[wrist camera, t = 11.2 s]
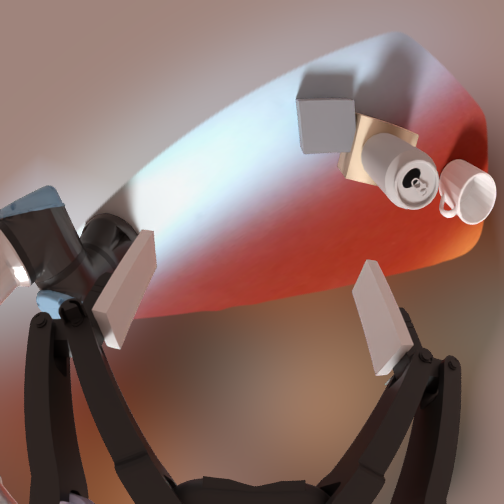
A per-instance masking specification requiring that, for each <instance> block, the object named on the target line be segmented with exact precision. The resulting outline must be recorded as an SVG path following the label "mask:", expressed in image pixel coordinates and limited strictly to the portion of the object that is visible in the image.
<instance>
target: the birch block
mask: <svg viewBox="0 0 504 504" xmlns="http://www.w3.org/2000/svg"><path fill="white" fill-rule="evenodd" d="M355 122H356V131H355V135H354V140H353V144H352V148H351V152H341V153H340V157H339V161H338V165H337V167H338V168H339V169H340V171H341V172H342V174H343V175H344V177H345V178H346V179H351V180H355V181H359V182H364V183H368V184H372V185H376V186H378V185H377V184H376V183H375V182H374V181H373V179H372V178H371V177H370V176H369V175H368V174H367V172H366V171H365V170H364V168H363V165H362V162H361V153H362V150H363V146H364V145H365V143H366V142H367V140H368V139H370V138H371V137H372V136H373V135H376V134H379V133H389V134H392V135H395V136H396V137H398V138H400V139H402V140H404V141H406V142H407V143H409V144H411V145H413V146H414V147H416V144H417V140H418V136H419V135H417V134H415V133H413V132H411V131H409V130H407V129H405V128H402V127H400V126H397V125H394V124H391V123H388V122H385V121H382V120H379V119H376V118H373V117H370V116H367V115H363V114H360V113H357V112H355Z"/></svg>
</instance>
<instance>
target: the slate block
mask: <svg viewBox="0 0 504 504" xmlns="http://www.w3.org/2000/svg"><path fill="white" fill-rule="evenodd" d="M296 106H297V116H298V125H299V136H300V147H301V149H302V151H303V154H315V153H341V152H351V148H352V144H353V140H354V135H355V131H356V122H355V103H354V100H351V99H347V98H311V99H296Z"/></svg>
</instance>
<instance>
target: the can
mask: <svg viewBox="0 0 504 504" xmlns="http://www.w3.org/2000/svg"><path fill="white" fill-rule="evenodd" d="M361 162H362V165H363V168H364V170H365V171H366V172H367V174H368V175H369V176H370V177H371V178H372V179H373V181H374V182H375V183H376V184H377V185H378V186H379V187H380V188H381V190H382V191H383V192H384V193H385V194H386V195H387V197H388V198H389V199H390V200H391V201H392V202H393V203H394V204H395V205H397V206H398V207H401V208H405V209H411V210H413V209H420V208H423V207H425V206H426V205H428V204H429V203H430V202H431V201H432V200H433V198H434V197H435V196H436V193H437V191H438V187H439V176H438V172H437V170H436V166H435V164H434V162H433V160H432V159H431V158H430V157H429V156H428V155H427V154H426V153H424V152H423V151H421V150H419V149H418V148H416V147H414V146H413V145H411V144H409V143H407V142H406V141H404V140H402V139H400V138H398V137H396V136H395V135H392V134H389V133H379V134H376V135H373V136H372V137H371V138H370V139H368V140H367V142H366V143H365V145H364V146H363V150H362V153H361Z"/></svg>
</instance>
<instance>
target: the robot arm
mask: <svg viewBox="0 0 504 504" xmlns="http://www.w3.org/2000/svg"><path fill="white" fill-rule="evenodd" d="M156 268H157V264H156V254H155V242H154V231H149V230H141V232H140V233H139V235H137V234H136V232H135V231H134V230H133V228H132V227H131V226H130V225H129V224H128V223H127V222H125V221H124V220H122V219H121V218H119V217H117V216H114V215H111V214H99V215H97V216H95V217H93V218H92V219H91V220H90V221H89V222H88V223H87V224H86V226H85V227H84V229H83V232H82V235H81V237H80V238H79V236H78V234H77V232H76V230H75V228H74V226H73V224H72V222H71V220H70V217H69V215H68V213H67V211H66V209H65V204H64V203H62V201H61V199H60V197H59V195H58V193H57V191H56V189H55V188H54V187H52V186H45V187H42V188H40V189H38V190H36V191H34V192H32V193H30V194H28V195H26V196H24V197H22V198H20V199H18V200H16V201H14V202H13V203H11V204H9V205H7V206H6V207H4V208H2V209H0V305H1V304H2V303H3V302H4V301H5V299H6V298H7V297H8V296H9V295H10V294H11V293H12V292H13V290H14V289H15V288H16V287H18V286H25V287H29V286H31V285H32V283H34V282H35V283H36V284H37V286H38V287H39V289H40V291H39V292H38V293H37V297H36V302H37V304H38V307H39V308H40V310H41V311H42V312H40V313H38V314H36V315H35V316H34V317H33V318H32V320H31V323H30V329H29V336H28V344H27V354H26V366H25V384H24V385H25V386H24V413H25V431H26V442H27V451H28V458H29V465H30V471H31V476H32V477H31V487H30V502H29V504H95V503H93V502H92V501H91V500H89V499H88V490H87V483H86V479H85V474H84V470H83V466H82V462H81V457H80V453H79V447H78V442H77V435H76V429H75V422H74V414H73V405H72V394H71V380H70V357H72V358H73V361H74V365H75V368H76V371H77V375H78V378H79V381H80V384H81V387H82V389H83V393H84V395H85V398H86V401H87V403H88V406H89V409H90V411H91V414H92V416H93V419H94V421H95V423H96V426H97V428H98V430H99V432H100V434H101V437H102V438H103V441H104V443H105V445H106V447H107V449H108V451H109V453H110V455H111V457H112V459H113V461H114V464H115V470H116V473H117V474H118V477H119V478H120V480H121V482H122V483H123V485H124V487H125V488H126V490H127V491H128V493H129V495H130V496H131V498H132V499H133V501H134V502H135V504H371V503H372V502H373V500H374V499H375V498H376V496H377V495H378V493H379V492H380V490H381V489H382V487H383V485H384V483H385V478H384V474H385V472H386V470H387V468H388V467H389V465H390V463H391V462H392V460H393V458H394V456H395V454H396V452H397V451H398V449H399V447H400V445H401V443H402V441H403V439H404V437H405V435H406V433H407V431H408V428H409V426H410V424H411V422H412V419H413V417H414V420H413V425H412V430H411V435H410V439H409V443H408V448H407V452H406V456H405V459H404V463H403V466H402V470H401V473H400V476H399V479H398V482H397V485H396V488H395V491H394V494H393V497H392V500H391V503H390V504H446V498H447V494H448V490H449V486H450V482H451V477H452V472H453V468H454V462H455V456H456V449H457V442H458V434H459V423H460V409H461V366H460V363H459V361H458V360H457V359H456V358H455V357H454V356H450V355H449V356H447V357H446V358H445V359H444V360H439V359H436V358H433V355H432V354H431V352H430V351H429V350H428V349H425V348H422V346H421V343H420V341H419V338H418V336H417V333H416V331H415V328H414V326H413V324H412V323H411V319H410V317H409V314H408V313H407V312H406V311H405V310H404V308H399V307H398V305H397V303H396V301H395V298H394V296H393V294H392V292H391V290H390V287H389V285H388V283H387V281H386V279H385V277H384V275H383V273H382V271H381V269H380V267H379V265H378V263H377V261H374V260H366V262H365V264H364V266H363V269H362V271H361V273H360V275H359V277H358V280H357V282H356V284H355V286H354V288H353V290H352V294H353V297H354V299H355V303H356V306H357V309H358V312H359V316H360V319H361V323H362V326H363V329H364V333H365V336H366V340H367V344H368V347H369V351H370V354H371V359H372V362H373V366H374V371H375V374H376V375H387V374H388V373H389V372H390V371H391V370H392V369H393V371H394V375H393V376H392V377H391V378H390V379H389V380H388V381H387V382H386V383H385V385H387V384H388V385H387V387H386V389H385V391H384V392H383V394H382V396H381V398H380V400H379V402H378V403H377V405H376V407H375V408H374V410H373V412H372V413H371V415H370V417H369V418H368V420H367V422H366V423H365V425H364V426H363V428H362V430H361V431H360V433H359V434H358V436H357V437H356V439H355V440H354V441H353V443H352V444H351V446H350V447H349V449H348V450H347V451H346V453H345V454H344V456H343V457H342V458H341V460H340V461H339V462H338V464H337V465H336V466H335V468H334V469H333V470H332V471H331V472H330V473H329V474H328V475H327V476H326V477H324V478H323V479H322V480H321V481H320V482H319V483H318V485H317V486H313V485H310V484H306V483H305V480H301V481H280V482H276V483H272V484H267V485H262V486H257V487H256V486H255V487H254V486H250V485H247V484H243V483H240V482H236V481H233V480H230V479H222V478H213V477H205V476H203V478H202V479H194V480H190V481H186V482H184V483H181V484H179V485H178V486H177V484H176V483H175V482H174V480H173V479H172V478H171V476H170V475H169V473H168V472H167V470H166V469H165V468H164V466H163V465H162V464H161V463H160V461H159V460H158V458H157V456H156V455H155V453H154V452H153V450H152V449H151V447H150V445H149V444H148V442H147V440H146V438H145V437H144V435H143V433H142V432H141V430H140V428H139V426H138V424H137V423H136V421H135V419H134V417H133V415H132V414H131V411H130V409H129V407H128V405H127V403H126V401H125V399H124V397H123V395H122V393H121V391H120V389H119V386H118V385H117V382H116V380H115V377H114V375H113V373H112V370H111V368H110V366H109V363H108V361H107V358H106V356H105V353H104V351H103V348H102V343H103V341H104V340H105V342H106V344H107V346H109V347H112V348H116V349H121V347H122V344H123V341H124V339H125V337H126V334H127V332H128V330H129V327H130V325H131V322H132V320H133V318H134V316H135V313H136V311H137V309H138V306H139V304H140V302H141V300H142V298H143V295H144V293H145V291H146V289H147V287H148V285H149V282H150V280H151V278H152V276H153V274H154V272H155V270H156ZM0 504H17V502H16V501H15V500H14V499H13V497H12V496H11V495H10V494H9V493H8V491H7V490H6V489H5V488H4V486H3V485H2V479H1V477H0Z"/></svg>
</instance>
